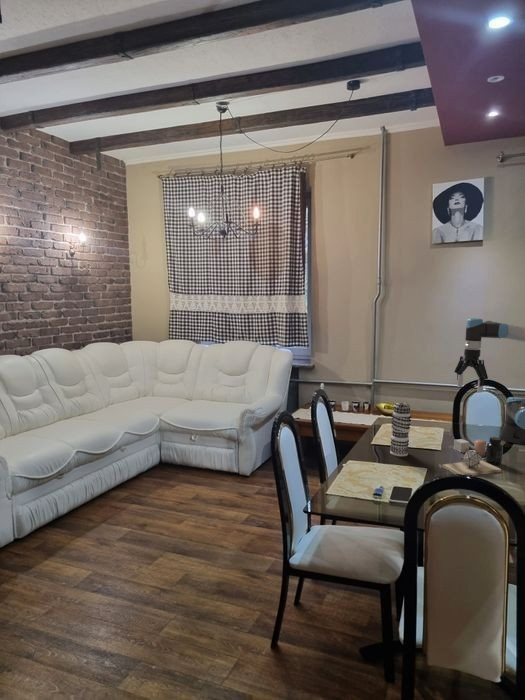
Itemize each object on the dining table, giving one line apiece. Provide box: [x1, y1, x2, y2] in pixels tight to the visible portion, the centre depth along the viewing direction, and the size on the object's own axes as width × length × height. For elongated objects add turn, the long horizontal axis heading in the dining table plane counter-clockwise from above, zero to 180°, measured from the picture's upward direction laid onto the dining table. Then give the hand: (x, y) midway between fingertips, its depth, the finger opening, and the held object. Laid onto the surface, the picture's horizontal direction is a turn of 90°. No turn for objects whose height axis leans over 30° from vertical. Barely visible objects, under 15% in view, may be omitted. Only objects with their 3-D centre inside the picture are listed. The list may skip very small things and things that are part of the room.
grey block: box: [453, 438, 470, 453], centre depth 245 cm, size 5×5×5 cm
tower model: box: [389, 401, 412, 457], centre depth 236 cm, size 9×9×25 cm
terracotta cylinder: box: [473, 439, 487, 458], centre depth 238 cm, size 5×5×7 cm
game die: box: [460, 447, 485, 468], centre depth 219 cm, size 9×8×10 cm
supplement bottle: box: [485, 436, 504, 467], centre depth 227 cm, size 7×7×12 cm
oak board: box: [441, 459, 502, 477], centre depth 220 cm, size 22×12×1 cm, turn 110°
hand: (469, 389), depth 254 cm, fingers open, 13 cm apart
